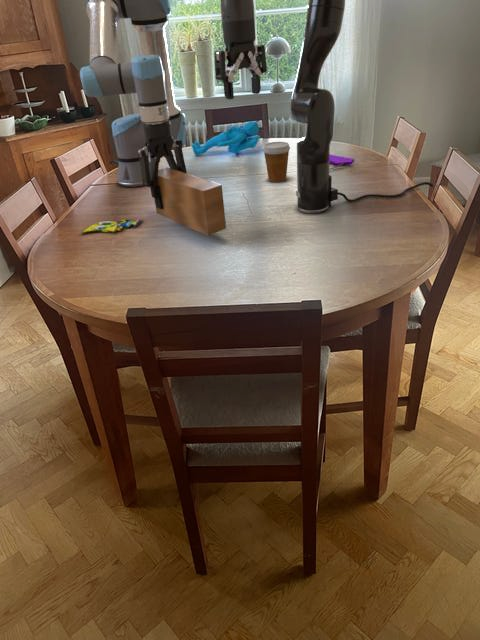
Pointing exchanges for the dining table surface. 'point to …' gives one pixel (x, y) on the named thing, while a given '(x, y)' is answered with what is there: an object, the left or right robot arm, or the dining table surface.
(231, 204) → the dining table surface
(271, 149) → the disposable coffee cup
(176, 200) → the box
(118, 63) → the left robot arm
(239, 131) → the toy
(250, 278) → the dining table surface
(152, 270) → the dining table surface
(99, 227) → the toy
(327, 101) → the right robot arm
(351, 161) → the musical instrument
